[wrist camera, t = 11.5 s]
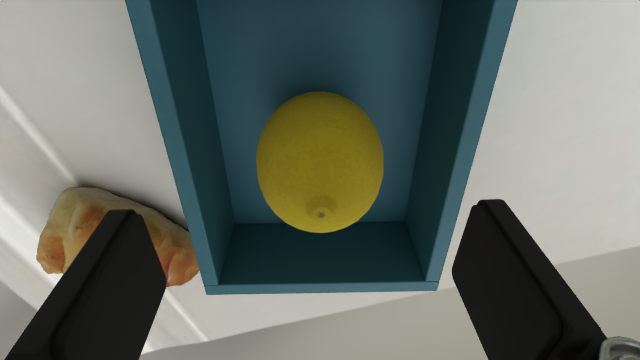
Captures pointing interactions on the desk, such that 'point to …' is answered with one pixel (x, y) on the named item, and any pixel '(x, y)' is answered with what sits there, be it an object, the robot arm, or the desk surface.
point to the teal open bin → (311, 76)
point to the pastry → (84, 216)
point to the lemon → (319, 162)
